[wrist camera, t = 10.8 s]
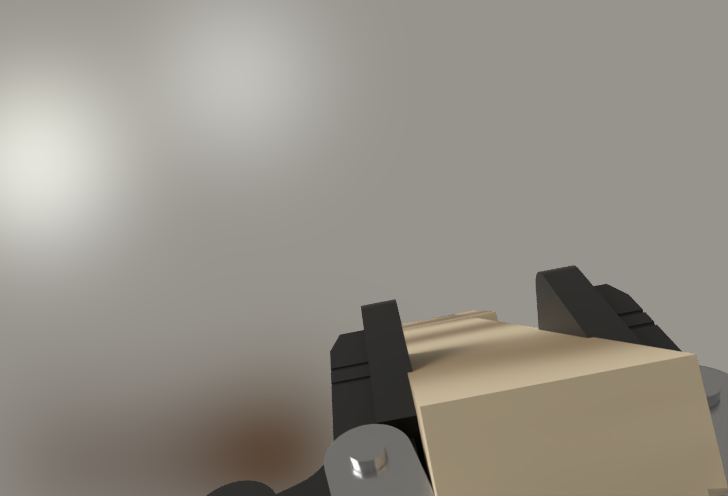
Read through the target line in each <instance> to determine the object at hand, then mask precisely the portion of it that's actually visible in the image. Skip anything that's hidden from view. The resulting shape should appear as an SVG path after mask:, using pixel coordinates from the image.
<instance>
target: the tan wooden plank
mask: <svg viewBox="0 0 728 496" xmlns="http://www.w3.org/2000/svg"><path fill="white" fill-rule="evenodd" d="M402 328H403V333H404V337H405V341H406V345H407V350H408V354H409V358H410V362H411V366H412V371H413V372H409V373H408V378H409V382H410V386H411V391H412V395H413V400H414V404H415V409H416V413H417V419H418V424H419V430H420V435H421V441H422V446H423V452H424V457H425V463H426V468H427V474H428V479H429V483H430V485H431V487H432V490H433V492H434V494H435V496H709V494H708V489H717V488H728V486H727V481H726V477H725V473H724V469H723V465H722V460H721V456H720V452H719V448H718V444H717V439H716V435H715V431H714V427H713V423H712V419H711V414H710V410H709V406H708V402H707V398H706V393H705V389H704V385H703V381H702V377H701V372H700V368H699V364H698V360H697V356H696V354H692V353H686V352H680V351H674V350H668V349H662V348H656V347H650V346H644V345H638V344H632V343H626V342H620V341H614V340H608V339H601V338H595V337H593V338H584V337H578V336H572V335H567V334H561V333H555V332H550V331H544V330H539V328H535V327H528V326H523V325H517V324H510V323H504V322H498V320H497V316H496V312H492V311H480V310H479V311H478V310H475V311H469V312H464V313H458V314H453V315H448V316H443V317H438V318H432V319H427V320H423V321H417V322H412V323H407V324H402Z"/></svg>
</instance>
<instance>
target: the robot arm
mask: <svg viewBox="0 0 728 496" xmlns="http://www.w3.org/2000/svg"><path fill="white" fill-rule="evenodd" d="M536 295H537V309H538V325H539V330H544V331H550V332H555V333H561V334H567V335H572V336H578V337H584V338H593V337H595V338H601V339H608V340H614V341H620V342H626V343H632V344H638V345H644V346H650V347H656V348H662V349H668V350H674V351H680V352H682V351H681V350H680V349H679V348H678V347H677V346H676V345H675V344H674V342H673V341H672V340H671V339H670V338H669V337H668V336H667V335H666V334H665V333H664V332H663V331H662V330H661V329H660V328H659V327H658V326H657V325H655V324H654V321H653V320H652V319H651V318H650V317H649V316H648V315H647V314H646V313H643V309H642V308H641V307H640V306H639V305H638V304H637V303H636V302H635V301H634V300H633V299H632V298H631V297H630V296H629V295H628V294H626V293H624V292H622V291H620V290H618V289H616V288H614V287H612V286H610V285H607V284H604V285H599V286H593V285H592V284H591V283H590V282H589V281H588V279H587V278H586V277H585V276H584V275H583V273H582V272H581V271H580V270H579V269H578V268H577V267H576V266H568V267H563V268H557V269H553V270H547V271H542V272H538V273H537V275H536ZM361 310H362V318H363V325H364V330H362V331H357V332H352V333H347V334H342V335H340V336H339V337H338V339H337V341H336V343H335V344H334V346H333V348H332V350H331V351H330V355H331V356H330V357H331V381H332V408H333V435H334V442H333V443H332V444H331V445H330V447H329V448H328V450H327V452H326V455H325V459H324V465H323V466H322V467H321V468H320V469H319V470H318V471H317V472H316V473H315V474H314V475H313V476H311V477H309V478H308V479H307V480H305V481H303V482H301V483H299V484H297V485H295V486H293V487H291V488H289V489H287V490H284V491H282V492H280V493H278V494H275V493H274V491H273V490H272V489H271V488H270V487H268V486H267V485H265V484H263V483H260V482H256V481H238V482H233V483H230V484H227V485H224V486H222V487H220V488H218V489H216V490H215V491H213V492H211V493H210V494H208V495H207V496H435V494H434V492H433V490H432V487H431V485H430V483H429V479H428V474H427V468H426V463H425V457H424V452H423V446H422V441H421V435H420V430H419V424H418V419H417V413H416V409H415V404H414V400H413V395H412V391H411V386H410V382H409V378H408V373H409V372H413V371H412V366H411V362H410V358H409V354H408V350H407V345H406V341H405V337H404V333H403V328H402V324H401V320H400V316H399V312H398V307H397V303H396V300H390V301H385V302H380V303H374V304H369V305H364V306H361ZM699 368H700V372H701V377H702V381H703V385H704V389H705V393H706V398H707V402H708V406H709V410H710V414H711V419H712V423H713V427H714V431H715V435H716V439H717V444H718V448H719V452H720V456H721V460H722V465H723V469H724V473H725V477H726V481H727V486H728V374H727V373H725V372H722V371H720V370H717V369H714V368H710V367H705V366H699ZM708 494H709V496H728V488H717V489H708Z"/></svg>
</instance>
